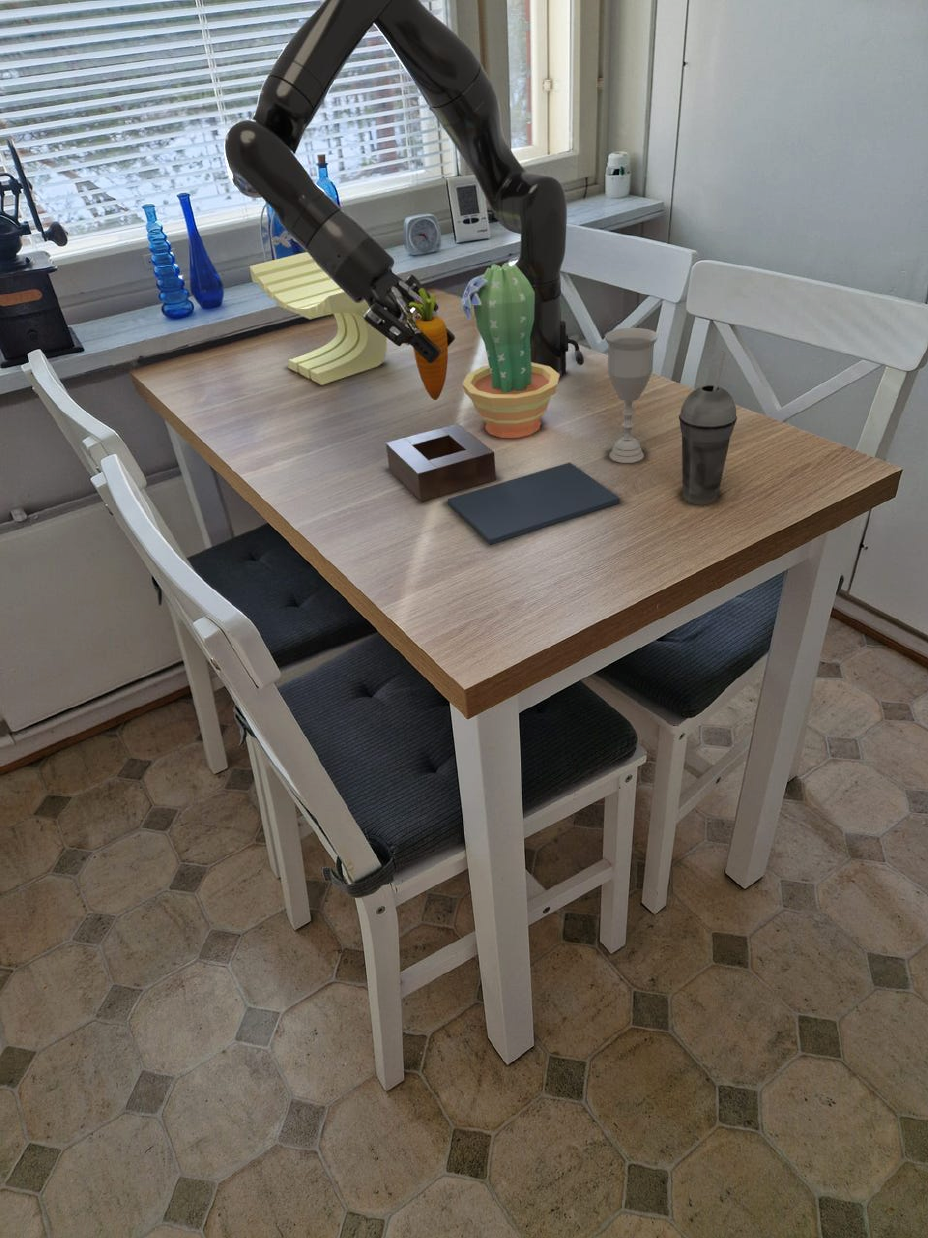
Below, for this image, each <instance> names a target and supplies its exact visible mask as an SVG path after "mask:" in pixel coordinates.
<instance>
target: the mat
mask: <svg viewBox="0 0 928 1238" xmlns="http://www.w3.org/2000/svg"><path fill="white" fill-rule="evenodd" d="M620 498H621V497H619V496H618V495H616V494H615V493H613V492H612V491H611V490H609V489H607V488H606V487H605V486H604V485H602V484H601V483H599V482H598V481H596V480H595V479H594V478H592V477H591V476H589V475H588V474H586V473H585V472H584V471H582V470H581V469H579V468H578V467H577V466H576V465H574V464H573V463H571V462H567V463H564V464H560V465H556V466H554V467H550V468H546V469H543V470H540V471H537V472H533V473H529V474H527V475H524V476H520V477H516V478H513V479H510V480H506V481H503V482H500V483H496V484H493V485H490V486H486V487H483V488H479V489H476V490H472V491H469V492H466V493H463V494H459V495H456V496H453V497H449V498H447V505H448V506H450V507H451V509H453V510H454V512H456V514H458V515H459V517H461V518H462V519H463V520H464V521H465V522H466V523H467V524H468V525H469V526H470V527H471V528H472V529H473V530H474V531H475V532H476V533H478V535H480V537H482V539H484V540H485V541H486V542H487V543H488V544H489V545H494V544H496V543H497V544H498V543H500V542H503V541H506V540H509V539H512V538H515V537H518V536H522V535H524V534H528V533H531V532H534V531H537V530H540V529H543V528H546V527H549V526H552V525H556V524H558V523H563V522H564V521H568V520H571V519H574V518H577V517H581V516H583V515H587V514H589V513H592V512H596V511H599V510H602V509H604V508H609V507H612V506H614V505H617V504H620Z"/></svg>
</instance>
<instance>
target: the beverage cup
mask: <svg viewBox="0 0 928 1238" xmlns="http://www.w3.org/2000/svg"><path fill="white" fill-rule="evenodd" d="M725 357H726V351H721V352H720V357H719V361H718V367H717V370H716V375H715V379H714V384H707V385H706V384H705V385H702V386H698V387H697V388H695V389H694V390H693V391H691V392H690V393H689V394H688V395H687V396H686V398H685V399H684V401H683V403H682V405H681V407H680V408H681V409H680V413H679V415H678V421H679V428H680V433H681V477H682V479H681V480H682V481H681V482H682V483H681V485H682V497H683V500H685V502H688V503H689V504H692V505H699V506H702V505H704V506H705V505H710V504H713V503H714V502H716V501H717V500H718V495H719V490H720V488H721V483H722V478H723V473H724V469H725V464H726V460H727V455H728V450H729V445H730V440H731V437H732V435H733V433H734V432H733V431H734V428H735V426H736V422H737V420H738V416H737V407H736V403H735V401H734V399H733V397H732V395H731V394H730V393H729V392H728V391H727V390H726V389H724V388H723V387H721V386H719V385H720V379H721V375H722V370H723V365H724V362H725Z"/></svg>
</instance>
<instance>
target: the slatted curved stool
mask: <svg viewBox="0 0 928 1238" xmlns="http://www.w3.org/2000/svg"><path fill="white" fill-rule="evenodd" d="M249 271H250V275H251V280H252V282H253V283H255V284H258V286H259V290H261V291H263V292H266V294H267V298H269V299H272V300H273V299H274V303H275V306H277V307H280V308H282V309H285V310H287V311H290V312H292V313H294V314H296V315H299V316H300V317H303V318H305V319H308V320H313V319H316V318H321V317H325V316H329V315H333V316H334V318H335V320H336V321H335V322H336V324H337V333H336V335H335V336H334V337H333V339H332V340H330V341H329V342H328V343H327V344H325V345H323V346H321V347H319V348H317V349H315V350H312V351H310V352H308V353H304V354H302V355H299V356H296V357H292V358H290V359H288V369H290V370H292V371H293V372H296V373H299V375H302V376H303V377H305V378H307V379H311V381H312V382H315V383H316V384H319V385H320V386H323V385H326V384H329V383H331V382H335V381H339V380H341V379H344V378H347V377H350V376H353V375H356V374H359V373H362V372H365V371H368V370H371V369H374V368H377V367H379V366H381V364H383V362H384V360H385V358H386V354H387V348H388V347H387V346H388V343H387V337H386V336H384V335H383V334H382V333H380V332H379V331H378V330H377V329H375V328H374V327H373V326H371V325H370V324H369V323H368V322H366V321H365V320H364V315H365V314H366V313H367V312H368V310H369V309H370V307H369V305H368V303H367V302H366V300H363V301H362V302H360V303H356V302H354V301H353V300H352V299H351V298H350V297H349V296H348V295H347V294H346V293H345V292H344V291H343V290H342V289H341V288H340V287H339V286H338V285H337V284H336V283H335V282H334V281H333V280H332V279H331V278H330V277H329V276H328V275H327V274H326V273H325V272H324V271H323V270H322V269H321V268H320V267H319V266H318V265H317V263H316V262H315V261H314V260H313V258H312V257H311V256H310V255H309V253H308V252H307V251H305V252H302V253H296V254H293V255H289V256H285V257H281V258H277V259H274V260H273V259H272V260H269V261H265V262H261V263H257V264H253V265H249ZM383 321H384V320H383Z"/></svg>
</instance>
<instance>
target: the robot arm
mask: <svg viewBox="0 0 928 1238" xmlns="http://www.w3.org/2000/svg"><path fill="white" fill-rule="evenodd" d="M424 5H425V4H423V3H422V2H421V0H324V1H323V2H322V3H321V5H320V6H319V7H318V8H317V9H316V10H315V11H314V12H313V14H311V15H310V17H309V18H307V20H306V21H305V22H304V23H303V24H302V25H301V27H299V29H298V30H296V32H295V33H294V35H293V36H292V37H291V38H290V40H289V41H288V43H287V44H286V45H285V47H284V48H283V49H282V51H281V52H280V55H279V56H278V58H277V59H276V61H275V63H274V64H273V66H272V68H271V70H270V71H269V73H268V75H267V77H266V78H265V80H264V82H263V84H262V86H261V89H260V92H259V94H258V99H257V106H256V109H255V112H254V115H253V116H252V118H251V119H245V120H240V121H238V122H236V123H234V125H232V126H231V127H230V128H229V130H228V132H227V134H226V136H225V139H224V148H223V149H224V156H225V157H224V158H225V162H226V167H227V172H228V176H229V180H230V181H231V183H232V184H233V186H234V187H235V189H236V190H237V191H239V192H240V193H241V194H242V195H243V196H246V197H247V198H251V199H261V198H262V199H263V200H264V201H265V202H266V203H267V204H268V205H269V206H270V207H271V209H272V210H273V212H274V213H275V216H276V218H277V220H278V222H279V224H280V225H281V226H282V228H283V229H284V230H285V231H286V232H287V233H288V234H289V236H290V237H291V238H293V239H294V241H295V242H296V243H297V244H299V246H300V247H302V248H303V250H304V251H305V252H308V253H309V255H310V256H311V257H312V258H313V260H314V261H315V262H316V263H317V265H318V266H319V267H320V268H321V269H322V270H323V271H324V272H325V273H326V274H327V275H328V276H329V277H330V278H331V279H332V280H333V281H334V282H335V283H336V284H337V285H338V286H339V287H340V288H341V289H342V290H343V291H344V292H345V293H346V294H347V295H348V296H349V297H350V298H351V299H352V300H353V301H354V302H356V303H360V302H362V301H363V300H366V302H367V303H368V305H369V307H370V309H369V310H368V312H367V313H366V314H365V315H364V320H365V321H366V322H368V323H369V324H370V325H371V326H373V327H374V328H375V329H377V330H378V331H379V332H380V333H382V334H383V335H384V336H386V339H388V340H389V341H390V342H392V343H393V344H394V345H396V346H397V347H401V346H402V345H403V344H405V345H407V346H409V345H410V346H411V347H412V348H414V349H415V350H416V351H417V352H418V353H419V354H420V355H422V357H423V358H424V359H426V360H427V361H428V362H429V363H433V362H434V361H435V359H436V358H437V357H438V356H439V355H440V354H441V351H440V349H439V348H438V347H437V346H436V345H435V344H434V343H433V342H432V341H431V340H430V339H429V338H428V337H427V336H426V335H425V334H424V333H423V332H421V333H420V329H419V328H418V326H417V325H416V324H415V322H414V321H415V320H417V319H419V318H421V317H422V316H421V315H420V313H419V312H418V311H417V310H416V309H415V308H412V307H410V306H409V303H410V302H414V303H416V304H419V303H420V304H423V306H424V303H423V301H422V298H421V296H420V293H419V291H418V290H420V289H421V288H423V289H425V287H424V286H423V285H422V283H421V282H420V281H419V279H418V278H417V277H416V276H415V275H413V274H409V276H408V277H407V278H406V279H403V278H401V277H400V276H399V275H397V274H396V273H394V272H393V267H394V265H395V260H394V258H393V257H392V255H390V254H389V253H388V252H387V250H386V249H385V248H384V247H382V246H381V245H380V243H379V242H378V241H377V240H376V239H375V238H373V236H372V235H371V234H370V233H369V232H368V231H367V230H366V229H364V227H363V226H362V225H361V224H360V223H359V222H358V221H357V220H356V219H354V218H353V217H352V216H350V215H349V214H348V213H347V212H345V210H343V209H342V208H341V206H339V204H337V202H336V201H334V200H333V198H332V197H330V196H329V195H328V193H327V192H325V191H324V190H323V189H322V188H321V187H320V186H318V184H317V183H316V182H315V181H314V179H312V178H313V177H311V176H310V174H309V173H308V171H307V170H306V168H305V167H304V165H303V164H302V163H301V162H300V160H299V158H298V157H297V156H296V155H295V154H296V152H297V151H298V148H299V146H300V142H301V140H302V138H303V135H304V134H305V131H306V130H307V128H308V127H309V125H310V124H311V123H312V121H313V119H314V118H315V116H316V114H317V113H318V110H319V109H320V107H321V105H322V104H323V102H324V101H325V99H326V97H327V96H328V93H329V92H330V90H331V88H332V87H333V85H334V83H335V81H336V80H337V78H338V76H339V75H340V73H341V72H342V70H343V68H344V67H345V65H346V64H347V62H348V61H349V59H350V58H351V56H352V54H353V53H354V52H355V51H356V49H357V48H358V46H359V45H360V43H361V42H362V40H363V39H364V38H365V36H366V35H367V34H368V32H369V31H370V30H371V29H372V27H373V26H375V27H376V29H377V30H378V31H379V33H381V35H382V37H383V38H384V39H385V41H386V42H387V43H388V45H389V46H390V48H391V50H392V51H393V53H394V54H395V56H396V58H397V59H398V60H399V62H400V63H401V65H402V66H403V68H404V70H405V71H406V72H407V75H409V77H410V78H411V80H412V82H414V84H415V86H416V87H417V89H418V91H419V92H420V94H421V96H422V98H423V99H424V101H425V102H426V104H427V105H428V107H429V108H430V110H431V112H432V113H433V115H434V116H435V118H436V120H437V121H438V123H439V124H440V125H441V127H442V129H443V130H444V132H446V134H447V135H448V137H449V138H450V140H451V141H452V143H453V145H454V147H455V148H456V149H457V151H458V152H459V154H460V156H461V157H462V158H463V160H464V161H465V163H466V164H467V166H468V168H470V171H471V172H472V174H473V176H474V177H475V180H476V181H477V183H478V185H479V187H480V189H481V191H482V193H483V195H484V197H485V199H486V201H487V203H488V205H489V207H490V209H491V211H492V213H493V215H494V216H495V218H496V220H497V221H498V222H499V224H500V225H501V226H502V227H503V228H505V229H506V230H507V231H509V232H511V233H515V234H519V235H520V248H519V249H520V251H519V254H518V255H516V256H514V257H511V258H510V259H508V261H507V262H506V263H509V265H510V266H513V265H516V266H517V267H518V268H519V270H520V271H521V272H522V273H523V275H524V276H525V277H526V278H527V280H528V281H529V283H530V285H531V287H532V289H533V291H534V292H535V303H534V322H533V326H532V330H531V334H530V352H531V362H532V363H537V364H541V365H545V366H550V367H551V368H552V369H553V370H555V371H556V372H557V373H558V374H560V376H559V378H561V377H562V376H564V375H566V374H567V353H568V352H569V344H571V345H573V347H574V351H575V352H574V356H575V357H574V358H575V361H576V363H577V365H579V366H582V365H584V363H585V358H584V355H583V353H582V352H581V350H580V345H579V343H578V342H577V341H576V340H575V339H572V338H569V334H567V324H566V323H567V322H566V321H565V320H564V319H562V294H561V293H562V283H561V282H562V281H561V280H562V277H561V276H562V275H561V274H562V265H563V262H564V259H565V255H566V249H567V247H566V246H567V245H566V243H567V225H568V223H567V222H568V204H567V196H566V191H565V189H564V186H563V185H562V184H561V182H560V181H559V180H558V179H557V178H555V177H553V176H550V175H547V174H540V173H535V172H529V171H528V170H526V169H525V168H524V167H523V166H522V164H521V163H520V162H519V161H518V159H517V158H516V156H515V154H514V153H513V151H512V149H511V148H510V147H509V145H508V143H507V141H506V138H505V135H504V132H503V125H502V113H501V107H500V101H499V96H498V94H497V91H496V90H495V87H494V85H493V83H492V81H491V80H490V77H489V76H488V73H487V72H486V71H485V69H484V67H483V65H482V63H481V62H480V60H479V59H478V57H477V55H476V54H475V52H474V51H473V50H472V49H471V48H470V46H469V45H468V44H467V43H466V42H465V41H464V40H463V39H462V38H461V37H460V36H459V35H458V34H457V33H456V32H454V31H453V30H452V29H451V28H450V27H448V25H446V24H445V23H443V22H442V20H440V19H438V17H436V16H435V14H433V13H432V12H431V11H430V10H428V8H427V7H425V6H424ZM425 291H426V294H427V296H428V298H429V299H430V295H431V294H430V293H429V292H428V291H427V290H426V289H425ZM424 308H425V307H424ZM438 310H439V305H438V304H437V302H435V306H434V311H433V315H432V316H435V317H438V313H437V311H438ZM383 320H384V321H383ZM446 329H447V346H448V347H449V346H451V344H453V342H454V341H455V340H456V336H455V335H454V334H453V332H452V331H451V330H449V328H447V327H446ZM395 333H396V334H395ZM419 333H420V334H419ZM414 349H413V350H414Z"/></svg>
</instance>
